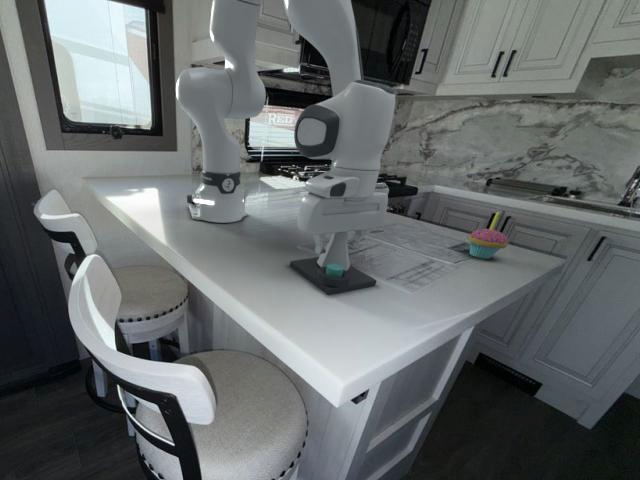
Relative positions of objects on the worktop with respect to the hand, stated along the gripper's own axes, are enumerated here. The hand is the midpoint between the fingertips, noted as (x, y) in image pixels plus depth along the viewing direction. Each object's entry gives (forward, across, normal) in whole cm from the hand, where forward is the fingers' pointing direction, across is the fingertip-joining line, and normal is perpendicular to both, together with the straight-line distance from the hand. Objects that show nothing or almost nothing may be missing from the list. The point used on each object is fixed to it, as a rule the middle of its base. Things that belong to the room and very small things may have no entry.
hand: (336, 250), depth 66 cm
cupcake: (+5, -46, +5) cm, 47 cm away
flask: (+4, 0, 0) cm, 4 cm away
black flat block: (+5, +2, +2) cm, 6 cm away
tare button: (+2, +5, +6) cm, 8 cm away
